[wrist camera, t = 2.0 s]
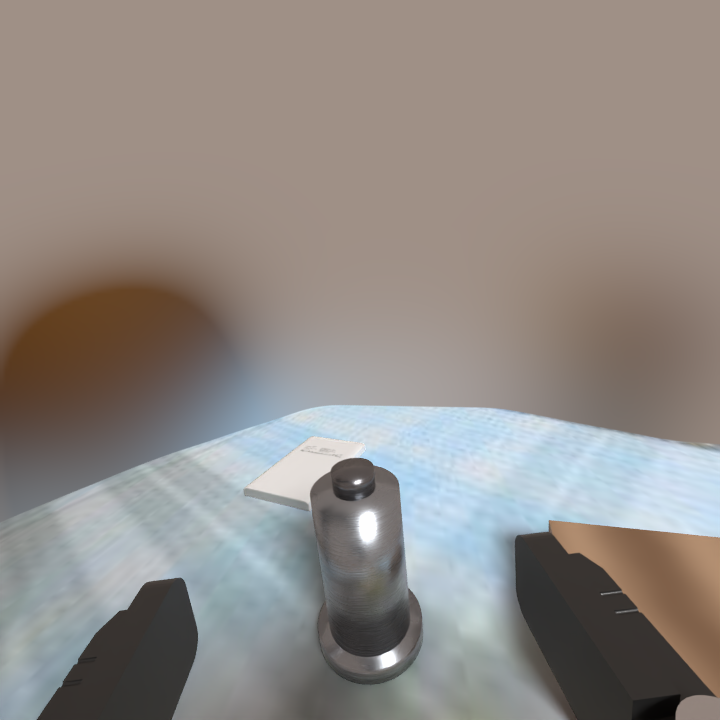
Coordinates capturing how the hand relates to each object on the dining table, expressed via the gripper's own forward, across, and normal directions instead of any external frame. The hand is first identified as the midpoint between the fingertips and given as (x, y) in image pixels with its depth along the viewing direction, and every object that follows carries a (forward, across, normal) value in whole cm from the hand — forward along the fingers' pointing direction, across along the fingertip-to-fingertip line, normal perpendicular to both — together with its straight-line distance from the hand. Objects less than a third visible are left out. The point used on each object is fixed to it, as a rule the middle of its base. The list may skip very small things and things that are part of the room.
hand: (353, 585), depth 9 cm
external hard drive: (+32, +6, +15) cm, 35 cm away
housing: (+12, 0, +14) cm, 18 cm away
